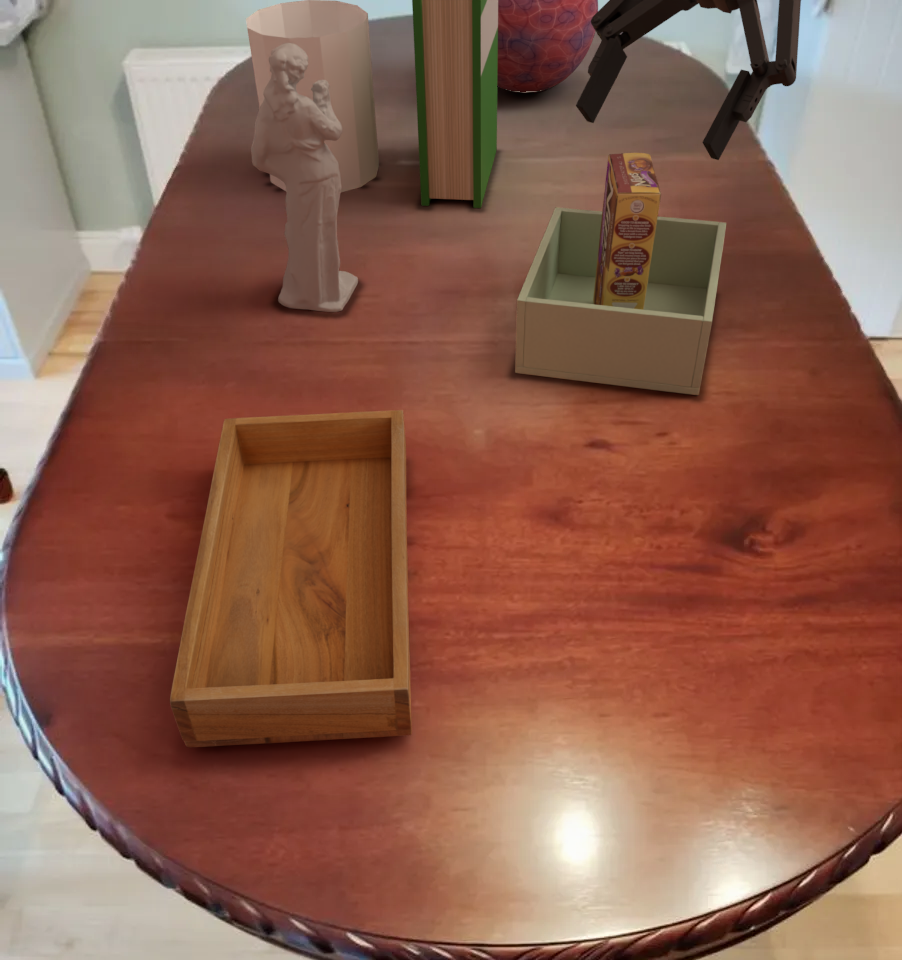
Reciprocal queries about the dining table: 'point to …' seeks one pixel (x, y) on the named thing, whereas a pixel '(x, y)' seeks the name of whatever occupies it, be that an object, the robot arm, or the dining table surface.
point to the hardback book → (456, 96)
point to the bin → (616, 330)
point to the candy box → (627, 231)
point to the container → (326, 73)
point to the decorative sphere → (542, 41)
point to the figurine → (304, 181)
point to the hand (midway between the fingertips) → (644, 132)
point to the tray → (300, 585)
